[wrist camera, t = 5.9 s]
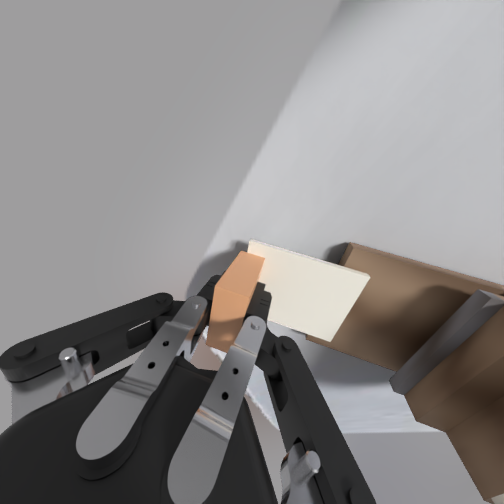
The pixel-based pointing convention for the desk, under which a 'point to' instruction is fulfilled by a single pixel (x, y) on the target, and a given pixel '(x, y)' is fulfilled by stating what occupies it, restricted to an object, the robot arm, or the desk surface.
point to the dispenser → (435, 351)
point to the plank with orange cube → (283, 293)
